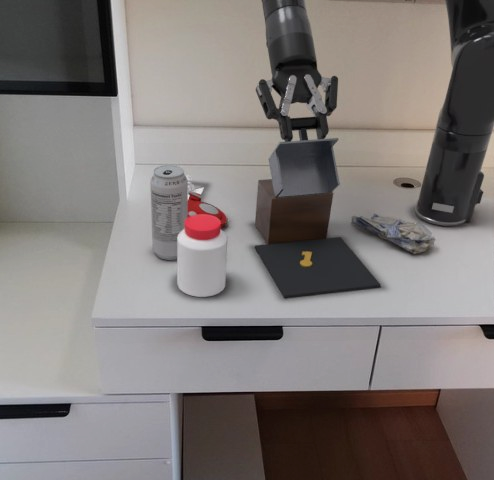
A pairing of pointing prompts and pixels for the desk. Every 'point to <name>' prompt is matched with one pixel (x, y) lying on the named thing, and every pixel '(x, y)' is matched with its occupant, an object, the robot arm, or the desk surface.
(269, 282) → the desk surface
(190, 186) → the adhesive hook
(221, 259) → the pill bottle
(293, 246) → the mat
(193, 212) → the tracker holder
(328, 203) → the stand
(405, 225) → the mineral specimen
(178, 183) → the energy drink can
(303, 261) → the brass key
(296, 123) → the key caddy
